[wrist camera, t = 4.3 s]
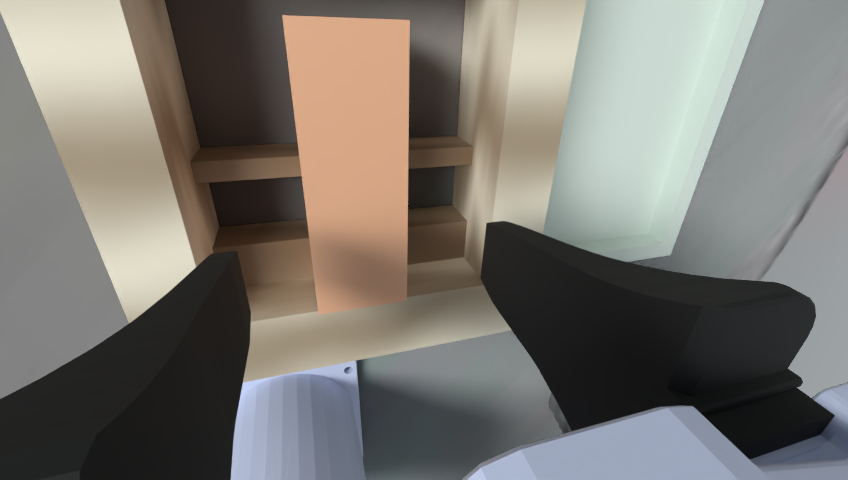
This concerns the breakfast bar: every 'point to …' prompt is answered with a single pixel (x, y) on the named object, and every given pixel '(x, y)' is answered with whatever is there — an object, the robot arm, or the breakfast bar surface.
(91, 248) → the breakfast bar surface
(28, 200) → the breakfast bar surface
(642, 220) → the tray
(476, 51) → the block
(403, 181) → the slab
